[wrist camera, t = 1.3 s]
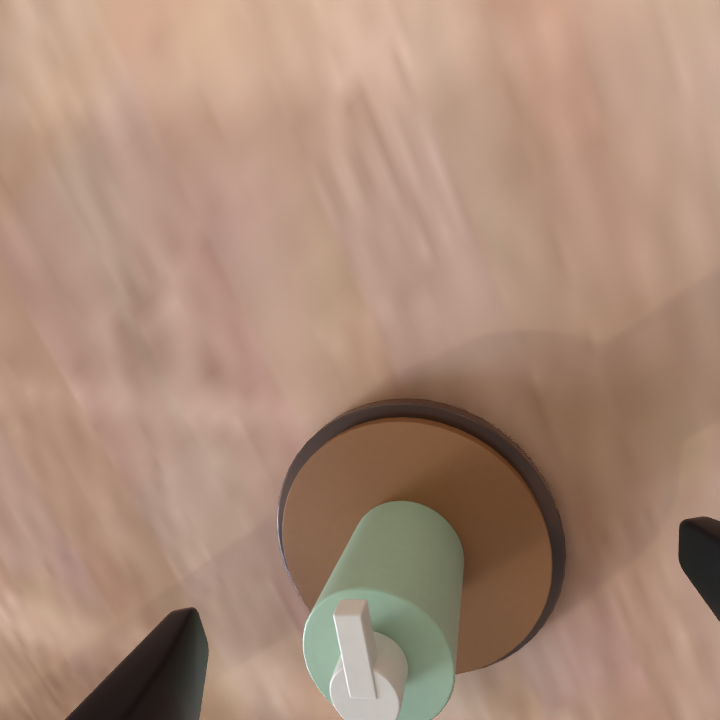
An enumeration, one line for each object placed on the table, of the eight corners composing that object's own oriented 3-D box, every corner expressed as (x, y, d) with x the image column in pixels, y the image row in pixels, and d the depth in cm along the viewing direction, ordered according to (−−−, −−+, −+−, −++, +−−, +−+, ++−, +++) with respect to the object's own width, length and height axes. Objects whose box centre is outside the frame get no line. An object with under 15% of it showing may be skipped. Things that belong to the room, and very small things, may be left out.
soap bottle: (568, 669, 23) (622, 920, 14) (313, 659, 27) (224, 850, 18) (529, 401, 21) (561, 485, 12) (265, 431, 25) (142, 511, 16)
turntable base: (581, 666, 24) (585, 682, 23) (311, 655, 28) (304, 669, 27) (540, 380, 22) (543, 384, 21) (260, 415, 26) (252, 419, 25)
